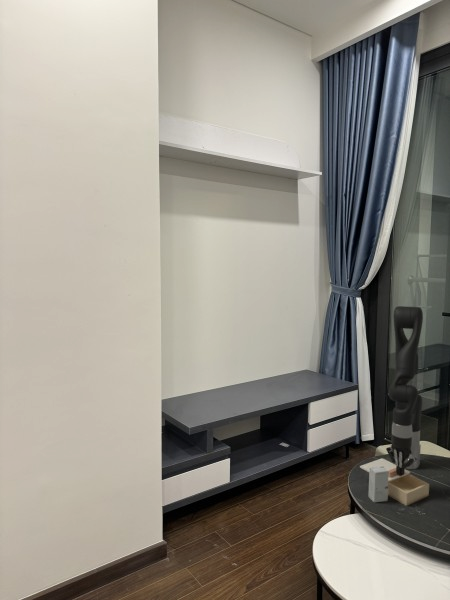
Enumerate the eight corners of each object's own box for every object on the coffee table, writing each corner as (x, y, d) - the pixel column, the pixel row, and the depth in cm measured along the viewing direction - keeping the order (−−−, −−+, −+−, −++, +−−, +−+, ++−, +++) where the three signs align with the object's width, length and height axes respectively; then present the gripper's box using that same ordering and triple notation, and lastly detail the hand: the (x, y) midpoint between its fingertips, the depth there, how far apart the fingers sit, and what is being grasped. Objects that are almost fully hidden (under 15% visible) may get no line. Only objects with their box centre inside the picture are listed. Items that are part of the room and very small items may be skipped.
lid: (382, 459, 186) (382, 453, 186) (410, 473, 174) (410, 467, 174) (359, 467, 179) (360, 461, 179) (387, 482, 167) (387, 476, 167)
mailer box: (399, 480, 179) (399, 469, 179) (428, 495, 167) (429, 483, 167) (377, 489, 172) (377, 477, 172) (406, 506, 161) (406, 493, 160)
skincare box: (374, 503, 163) (375, 472, 161) (367, 496, 167) (368, 467, 166) (388, 500, 164) (389, 471, 163) (381, 494, 168) (382, 465, 167)
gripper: (422, 437, 165) (420, 479, 167) (393, 426, 176) (392, 465, 178) (410, 441, 161) (408, 485, 163) (381, 429, 173) (380, 470, 174)
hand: (400, 474), depth 171 cm, fingers closed
